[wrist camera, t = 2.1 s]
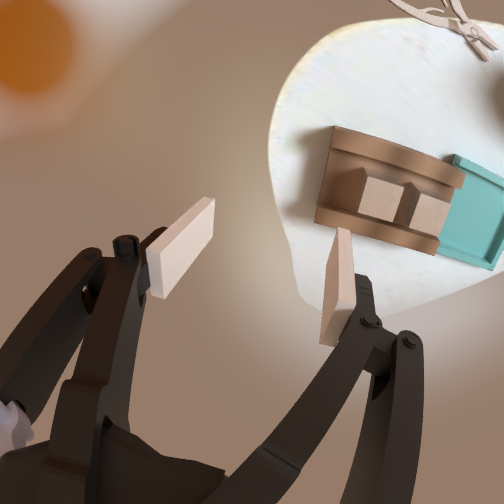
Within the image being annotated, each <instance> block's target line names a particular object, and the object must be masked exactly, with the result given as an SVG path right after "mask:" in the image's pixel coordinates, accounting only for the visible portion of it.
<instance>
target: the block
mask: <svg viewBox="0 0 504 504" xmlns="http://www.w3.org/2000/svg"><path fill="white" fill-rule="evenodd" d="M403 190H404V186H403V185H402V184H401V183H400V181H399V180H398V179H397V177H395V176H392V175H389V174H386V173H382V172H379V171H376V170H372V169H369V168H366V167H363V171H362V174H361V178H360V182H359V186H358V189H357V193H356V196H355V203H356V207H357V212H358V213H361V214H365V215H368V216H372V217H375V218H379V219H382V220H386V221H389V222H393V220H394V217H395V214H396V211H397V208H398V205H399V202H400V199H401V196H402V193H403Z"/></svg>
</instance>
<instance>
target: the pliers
mask: <svg viewBox="0 0 504 504" xmlns="http://www.w3.org/2000/svg"><path fill="white" fill-rule="evenodd" d="M388 1H389V2H391V3H392V4H393V5H394V6H396V7H398V8H399V9H401V10H402V11H403V12H405V13H407V14H408V15H410V16H412V17H414V18H418V19H420V20H422V21H424V22H426V23H429V24H431V25H434V26H437V27H443V28H449V29H452V30H454V31H456V32H458V33H460V34H463V35H464V37H465V38H466V39H467V41H468V42H469V43H470V44H471V46H472V47H473V48H474V49H475V50H476V51H477V52H478V54H479V55H480V56H481V57H482V58H483V59H484V61H485V62H486V61H490V60H492V59H491V57H490V56H489V54H488V53H487V51H486V50H485V48H484V46H483V45H482V43H481V42H480V41H479V40H478V39H480V40H481V41H482V42H484V43H485V44H486V45H488V46H489V47H490V48H491V49H493V50H498V48H499V46H498V45H497V44H496V43H495V42H494V41H493V40H492V39H491V38H490V37H489V36H488V35H487V34H486V33H485V32H484V31H483V30H482V29H481V28H480V27H479V26H478V25H476V24H475V23H473V22H472V21H470V20H469V19H468V18H467V16H466V14H465V13H464V11H463V9H462V6H461V4H460V1H459V0H448V1H449V3H450V5H451V8H452V10H453V12H454V13H455V14H456V15H457V17H458V18H461V20H462V21H463V23H462V24H461V23H459V22H458V21H455V20H452V19H448V18H443V17H438V16H432V15H430V14H427V13H425V12H427V11H434V12H439V13H444V11H443V10H440V9H437V8H425V9H419V10H418V9H416V8H414V7H412V6H410V5H408V4H406V3H404V2H402V1H401V0H388ZM441 1H442V3H443V5H444V7H445V8H447V7H448V5H447V3H446V1H445V0H441ZM476 38H478V39H476Z"/></svg>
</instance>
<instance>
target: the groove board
mask: <svg viewBox="0 0 504 504" xmlns="http://www.w3.org/2000/svg"><path fill="white" fill-rule="evenodd" d="M363 167H366V168H369V169H372V170H376V171H379V172H382V173H386V174H389V175H392V176H395V177H397V179H398V180H399V181H400V183H401V184H402V185H403V186H404V190H403V193H402V196H401V199H400V202H399V205H398V208H397V211H396V214H395V217H394V220H393V222H389V221H386V220H382V219H379V218H375V217H372V216H368V215H365V214H361V213H358V212H357V207H356V203H355V196H356V193H357V189H358V186H359V182H360V178H361V174H362V171H363ZM465 176H466V174H465V173H463V172H462V171H461V170H459V169H458V168H456V167H455V166H453V165H451V164H449V163H447V162H444V161H442V160H440V159H437V158H435V157H432V156H430V155H427V154H424V153H422V152H419V151H416V150H414V149H411V148H408V147H405V146H402V145H400V144H397V143H394V142H391V141H387V140H384V139H381V138H378V137H375V136H371V135H368V134H364V133H361V132H357V131H354V130H350V129H346V128H342V127H338V126H334V130H333V135H332V140H331V145H330V150H329V155H328V159H327V164H326V169H325V173H324V178H323V182H322V186H321V191H320V195H319V199H318V203H317V208H316V214H315V221H314V223H317V224H321V225H325V226H329V227H333V228H337V229H338V227H340V228H343V229H347V230H350V232H352V233H356V234H360V235H363V236H367V237H371V238H374V239H378V240H382V241H385V242H389V243H392V244H396V245H399V246H403V247H406V248H409V249H413V250H416V251H420V252H423V253H426V254H429V255H433V256H434V255H435V253H436V251H437V249H438V247H439V244H440V241H439V239H438V238H437V236H434V235H431V234H428V233H425V232H422V231H419V230H415V229H412V228H409V227H408V225H407V223H406V221H405V219H404V217H403V216H402V214H401V211H402V209H403V206H404V203H405V200H406V197H407V194H408V191H409V187H410V184H411V182H413V183H416V184H419V185H421V186H424V187H427V188H430V189H432V190H435V191H438V192H440V193H441V194H442V195H443V196H444V197H445V198H446V199H447V200H448V201H449V203H450V202H451V200H452V197H453V194H454V191H455V188H457V189H460V190H461V189H462V186H463V183H464V180H465Z"/></svg>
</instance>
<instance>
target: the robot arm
mask: <svg viewBox="0 0 504 504" xmlns="http://www.w3.org/2000/svg"><path fill="white" fill-rule="evenodd" d="M214 208H215V199H213V198H209V197H203V198H202V199H200V200H199V201H198V202H197V203H196V204H195V205H194V206H192V207H191V208H190V209H189V210H188V211H187V212H186V213H184V214H183V215H182V216H181V217H180V218H179V219H178V220H177V221H176V222H175V223H173V224H172V225H171V226H170V227H169V228H167V227H161V228H158V229H156V230H155V231H153V232H152V233H151V234H150V235H149V236H148V237H147V238H146V239H144V240H143V241H142V242H141V243H140V244H139V239H138V238H137V237H136V236H134V235H122V236H119V237H117V238H116V239H114V240H113V248H114V254H115V257H102V252H101V250H100V249H98V248H94V247H90V248H87V249H84V250H82V251H81V252H80V253H79V254H78V255H77V256H76V257H75V258H74V259H73V260H72V261H71V262H70V263H69V264H68V265H67V266H66V268H65V269H64V270H63V271H62V272H61V273H60V274H59V275H58V276H57V278H56V279H55V280H54V281H53V282H52V283H51V284H50V286H49V287H48V288H47V289H46V290H45V291H44V293H43V294H42V295H41V296H40V297H39V299H38V300H37V301H36V302H35V303H34V304H33V306H32V307H31V308H30V310H29V311H28V312H27V314H26V315H25V316H24V317H23V318H22V320H21V321H20V322H19V324H18V325H17V326H16V328H15V329H14V330H13V332H12V333H11V334H10V336H9V337H8V339H7V340H6V341H5V343H4V345H3V346H2V347H1V349H0V504H276V503H277V502H278V501H279V500H280V499H281V498H282V496H283V495H284V494H285V493H286V492H287V490H288V489H289V488H290V487H291V485H292V484H293V483H294V481H295V480H296V478H297V477H298V476H299V474H300V472H301V469H302V467H303V466H304V464H305V463H306V462H307V460H308V459H309V458H310V456H311V455H312V453H313V452H314V450H315V449H316V447H317V446H318V444H319V443H320V442H321V440H322V439H323V437H324V436H325V434H326V432H327V431H328V429H329V428H330V426H331V424H332V423H333V421H334V420H335V418H336V416H337V414H338V413H339V411H340V410H341V408H342V406H343V405H344V403H345V401H346V399H347V397H348V396H349V394H350V392H351V391H352V389H353V387H354V385H355V383H356V381H357V379H358V377H359V376H360V374H361V372H362V370H365V371H367V372H369V373H371V374H372V376H371V381H370V388H369V393H368V399H367V404H366V409H365V414H364V419H363V424H362V428H361V432H360V437H359V441H358V445H357V449H356V452H355V456H354V460H353V463H352V467H351V470H350V474H349V477H348V480H347V483H346V487H345V489H344V492H343V495H342V498H341V501H340V504H410V503H411V499H412V495H413V489H414V485H415V479H416V473H417V467H418V460H419V453H420V445H421V434H422V422H423V404H424V356H423V344H422V341H421V339H420V337H419V336H418V335H416V334H415V333H413V332H411V331H407V330H404V331H401V332H400V333H399V334H398V335H395V334H393V333H391V332H389V331H387V330H386V329H384V328H383V327H382V322H381V320H380V318H379V317H378V316H377V315H376V313H375V305H374V297H373V291H372V290H373V289H372V283H371V281H370V280H369V278H368V277H367V276H364V275H360V274H356V273H354V263H353V252H352V242H351V233H350V230H347V229H343V228H340V227H338V229H337V232H336V236H335V239H334V242H333V246H332V249H331V252H330V255H329V258H328V261H327V264H326V278H325V291H324V303H323V313H322V323H321V333H320V341H319V343H320V344H324V345H328V346H333V347H335V346H336V347H335V348H334V350H333V351H332V353H331V354H330V356H329V357H328V359H327V360H326V362H325V363H324V364H323V366H322V367H321V369H320V370H319V372H318V373H317V375H316V376H315V377H314V379H313V380H312V382H311V383H310V384H309V386H308V387H307V388H306V390H305V391H304V392H303V394H302V395H301V396H300V398H299V399H298V401H297V402H296V403H295V404H294V406H293V407H292V408H291V410H290V411H289V412H288V413H287V415H286V416H285V417H284V418H283V420H282V421H281V422H280V423H279V424H278V426H277V427H276V428H275V429H274V430H273V432H272V433H271V434H270V435H269V436H268V438H267V439H266V440H265V441H264V442H263V443H262V444H261V445H260V446H259V447H258V448H257V449H256V450H255V451H254V452H253V453H252V454H251V455H250V456H249V457H248V458H247V459H246V460H245V461H244V462H243V463H242V464H241V465H240V467H239V468H238V469H237V470H236V471H235V472H234V473H233V474H232V475H231V476H230V477H228V476H226V475H224V474H225V470H222V469H219V468H216V467H212V466H209V465H206V464H203V463H200V462H198V461H194V460H186V459H179V458H173V457H167V456H163V455H161V454H159V453H158V452H157V451H155V450H154V449H153V448H151V447H150V446H149V445H148V444H146V443H145V442H144V441H142V440H141V439H140V438H139V437H138V436H136V435H134V434H132V433H130V426H129V421H128V411H129V401H130V393H131V384H132V376H133V370H134V364H135V357H136V351H137V345H138V339H139V333H140V328H141V323H142V317H143V312H144V308H145V303H146V291H147V289H148V288H149V287H150V289H151V295H153V296H155V297H158V298H162V299H165V298H166V297H167V295H168V294H169V293H170V291H171V290H172V289H173V287H174V286H175V285H176V283H177V282H178V281H179V279H180V278H181V277H182V276H183V274H184V273H185V272H186V270H187V269H188V268H189V266H190V265H191V264H192V262H193V261H194V260H195V259H196V257H197V256H198V255H199V253H200V252H201V251H202V249H203V248H204V247H205V246H206V245H207V243H208V242H209V240H210V239H211V238H212V237H213V223H214V222H213V221H214ZM84 286H86V289H85V290H84V291H82V290H83V288H84ZM83 337H84V339H83ZM82 339H83V342H82V345H81V349H80V352H79V355H78V359H77V362H76V366H75V369H74V373H73V376H72V378H71V379H68V380H65V381H64V382H63V383H62V386H61V389H60V393H59V397H58V401H57V405H56V410H55V414H54V419H53V424H52V429H51V434H50V440H48V441H44V442H41V443H38V444H35V445H31V446H27V447H26V446H25V445H26V441H31V440H32V439H33V438H34V432H33V430H32V429H31V425H32V424H33V423H34V422H35V421H36V419H37V418H38V416H39V415H40V414H41V412H42V410H43V408H44V407H45V405H46V403H47V401H48V399H49V397H50V395H51V393H52V391H53V390H54V388H55V386H56V384H57V382H58V380H59V379H60V377H61V375H62V373H63V371H64V369H65V368H66V366H67V364H68V362H69V361H70V359H71V357H72V356H73V354H74V352H75V351H76V349H77V347H78V346H79V344H80V342H81V341H82ZM338 340H339V342H338ZM337 342H338V343H337ZM336 344H337V345H336Z"/></svg>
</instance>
